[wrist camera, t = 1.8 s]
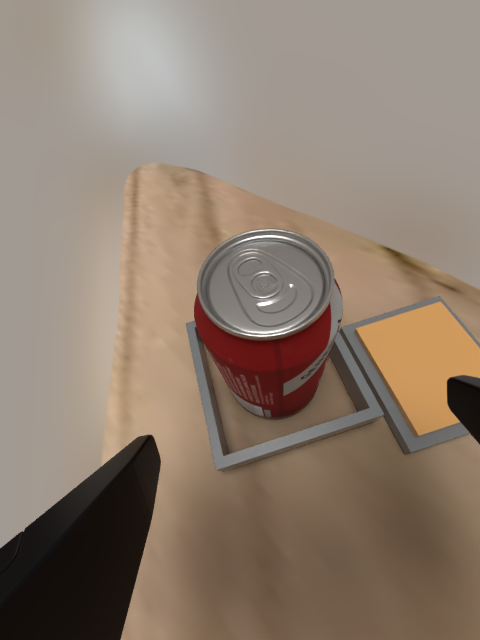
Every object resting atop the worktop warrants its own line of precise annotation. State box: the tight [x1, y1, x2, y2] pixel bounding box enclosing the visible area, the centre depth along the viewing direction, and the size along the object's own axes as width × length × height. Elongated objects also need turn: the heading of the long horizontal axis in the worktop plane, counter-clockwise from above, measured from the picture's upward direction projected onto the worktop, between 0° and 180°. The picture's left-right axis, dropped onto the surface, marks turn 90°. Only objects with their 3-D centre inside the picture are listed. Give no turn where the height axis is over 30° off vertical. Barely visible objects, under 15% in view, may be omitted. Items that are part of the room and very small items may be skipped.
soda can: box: [194, 229, 343, 418], centre depth 16 cm, size 7×7×12 cm
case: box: [186, 321, 384, 472], centre depth 20 cm, size 11×11×2 cm
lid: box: [339, 296, 480, 454], centre depth 19 cm, size 9×8×2 cm
